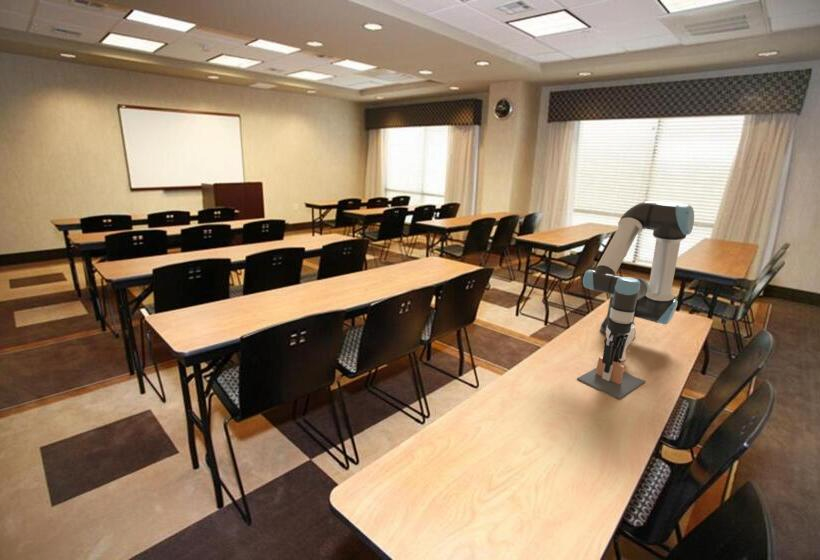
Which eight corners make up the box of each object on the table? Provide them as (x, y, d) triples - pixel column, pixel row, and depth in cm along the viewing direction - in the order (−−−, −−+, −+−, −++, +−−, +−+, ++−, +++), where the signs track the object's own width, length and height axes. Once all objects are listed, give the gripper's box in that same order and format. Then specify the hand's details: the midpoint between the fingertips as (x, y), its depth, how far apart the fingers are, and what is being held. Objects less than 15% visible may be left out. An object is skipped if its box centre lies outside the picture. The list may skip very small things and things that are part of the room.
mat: (604, 364, 164) (604, 363, 164) (645, 382, 152) (645, 381, 152) (576, 379, 152) (577, 378, 152) (619, 399, 140) (619, 398, 140)
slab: (598, 372, 157) (601, 356, 155) (621, 383, 150) (624, 366, 148) (595, 373, 156) (598, 357, 154) (619, 384, 149) (622, 367, 147)
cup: (626, 365, 164) (633, 331, 160) (598, 357, 170) (604, 324, 166) (631, 356, 172) (638, 323, 168) (604, 348, 178) (610, 317, 174)
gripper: (620, 312, 153) (608, 368, 160) (599, 320, 144) (587, 379, 150) (641, 319, 148) (628, 376, 154) (620, 328, 138) (607, 388, 145)
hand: (608, 378), depth 152 cm, fingers open, 3 cm apart
